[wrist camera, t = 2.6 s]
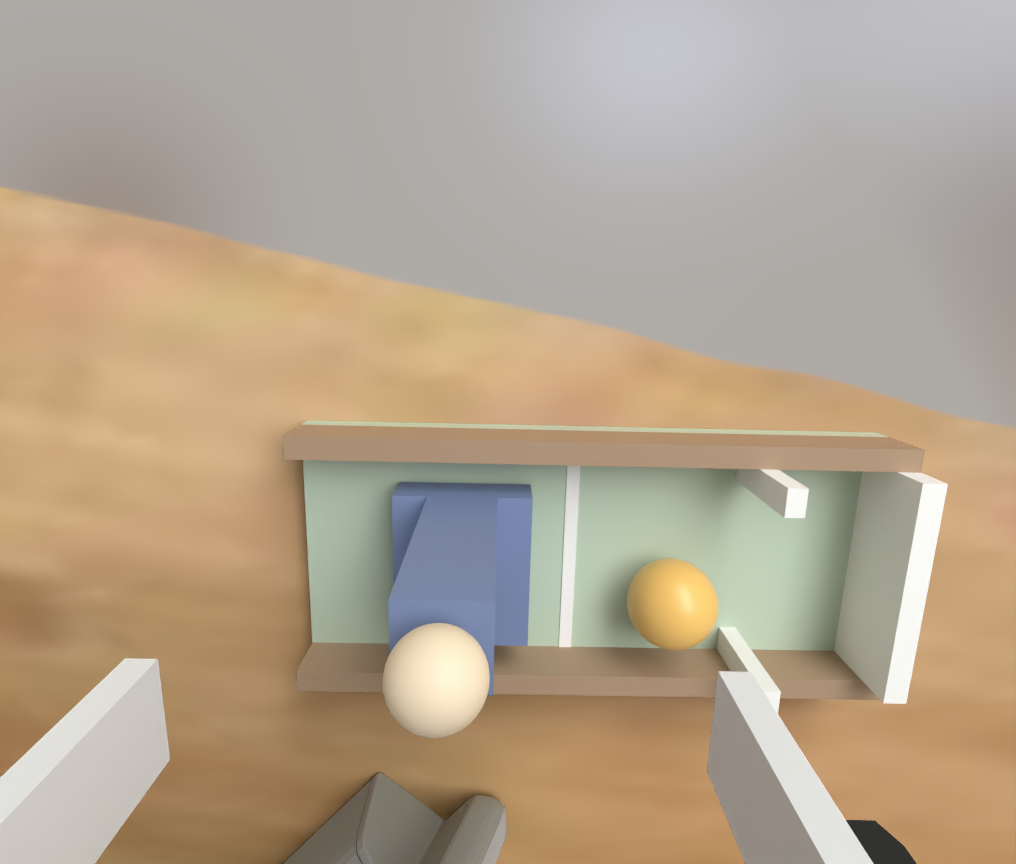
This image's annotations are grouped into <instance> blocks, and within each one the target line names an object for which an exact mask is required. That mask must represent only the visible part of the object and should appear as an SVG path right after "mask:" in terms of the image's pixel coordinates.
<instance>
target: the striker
mask: <svg viewBox="0 0 1016 864" xmlns="http://www.w3.org/2000/svg"><path fill="white" fill-rule="evenodd" d="M532 503H533V498H532V491H531V485H530V484H482V483H432V482H399V484H398V486H397V488H396V489H395V491H394V493H393V495H392V528H393V582H394V586H393V589H392V591H391V594H390V596H389V599H388V607H389V656H388V659H387V661H386V664H385V668H384V673H383V694H384V698H385V702H386V704H387V707H388V709H389V711H390V713H391V714H392V716H393V717H394V719H395V720H396V721H397V722H398V723H399V724H400V725H401V726H402V727H403V728H405V729H406V730H408V731H409V732H411V733H413V734H415V735H418V736H421V737H427V738H441V737H446V736H450V735H452V734H455V733H457V732H459V731H460V730H462V729H464V728H465V727H466V726H468V725H469V724H470V723H471V722H472V721H473V720H474V719H475V718H476V716H477V715H478V714H479V712H480V711H481V709H482V707H483V705H484V703H485V700H486V698H487V695H493V685H494V645H504V646H528V618H529V590H530V561H531V532H532Z"/></svg>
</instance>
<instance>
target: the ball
mask: <svg viewBox="0 0 1016 864" xmlns="http://www.w3.org/2000/svg"><path fill="white" fill-rule="evenodd" d="M627 608H628V613H629V616H630V619H631V621H632V623H633V625H634V627H635V628H636V630H637V631H638V632H639V633H640V635H641V636H642V637H643V638H644V639H646V640H647V641H648V642H650V643H652V644H653V645H655V646H657V647H660V648H663V649H667V650H685V649H689V648H692V647H694V646H696V645H698V644H700V643H701V642H702V641H704V640H705V639H706V638H707V637H708V635H709V634H710V633H711V631H712V630H713V628H714V626H715V624H716V621H717V617H718V599H717V595H716V591H715V589H714V587H713V585H712V583H711V582H710V580H709V579H708V577H707V576H706V575H705V574H704V573H703V572H702V571H701V570H700V569H698V568H697V567H695V566H694V565H692V564H690V563H688V562H686V561H683V560H679V559H660V560H657V561H654V562H651V563H649V564H647V565H646V566H644V567H643V568H642V569H641V570H640V571H639V572H638V573H637V574H636V575H635V576H634V578H633V580H632V581H631V584H630V586H629V590H628V594H627Z"/></svg>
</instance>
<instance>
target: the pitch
mask: <svg viewBox="0 0 1016 864" xmlns="http://www.w3.org/2000/svg"><path fill="white" fill-rule="evenodd" d="M282 439H283V456H284V460H303V471H304V491H305V510H306V530H307V549H308V569H309V588H310V608H311V627H312V644H311V646H310V647H309V649H308V651H307V653H306V655H305V657H304V658H303V660H302V662H301V664H300V666H299V667H298V669H297V671H296V679H297V691H318V692H383V673H384V668H385V664H386V661H387V659H388V656H389V607H388V599H389V596H390V594H391V591H392V589H393V586H394V582H393V528H392V495H393V493H394V491H395V489H396V488H397V486H398V484H399V482H432V483H482V484H530V485H531V491H532V498H533V503H532V532H531V561H530V590H529V618H528V646H504V645H494V685H493V694H519V695H586V696H653V697H715V696H716V687H717V678H718V671H731V672H751V673H752V674H753V676H754V678H755V679H756V681H757V682H758V684H759V685H760V687H761V689H762V690H763V692H764V693H765V695H766V696H767V698H768V699H769V701H770V703H771V704H772V706H773V707H774V709H775V710H776V712H777V714H778V709H779V702H780V698H787V699H854V700H881V701H882V702H883V703H901V704H906V701H907V696H908V691H909V686H910V680H911V675H912V670H913V665H914V659H915V654H916V649H917V644H918V638H919V633H920V628H921V623H922V617H923V612H924V607H925V602H926V596H927V591H928V586H929V580H930V575H931V570H932V565H933V559H934V554H935V549H936V544H937V538H938V533H939V528H940V523H941V517H942V512H943V507H944V502H945V496H946V491H947V486H948V484H947V483H944V482H942V481H939V480H937V479H935V478H932V477H930V476H927V475H925V474H923V473H921V468H922V463H923V457H924V452H925V450H924V449H921V448H918V447H915V446H912V445H910V444H907V443H904V442H901V441H898V440H896V439H893V438H890V437H887V436H884V435H882V434H879V433H876V432H831V431H785V430H739V429H692V428H646V427H600V426H553V425H507V424H460V423H414V422H368V421H321V420H308V421H306V422H304V423H303V424H301V425H300V426H298V427H296V428H295V429H293V430H292V431H290V432H288V433H287V434H285V435H284V436H282ZM660 559H679V560H683V561H686V562H688V563H690V564H692V565H694V566H695V567H697V568H698V569H700V570H701V571H702V572H703V573H704V574H705V575H706V576H707V577H708V579H709V580H710V582H711V583H712V585H713V587H714V589H715V591H716V595H717V599H718V617H717V621H716V624H715V626H714V628H713V630H712V631H711V633H710V634H709V635H708V637H707V638H706V639H705V640H704V641H702V642H701V643H700V644H698V645H696V646H694V647H692V648H689V649H685V650H667V649H663V648H660V647H657V646H655V645H653V644H652V643H650V642H648V641H647V640H646V639H644V638H643V637H642V636H641V635H640V633H639V632H638V631H637V630H636V628H635V627H634V625H633V623H632V621H631V619H630V616H629V613H628V608H627V594H628V590H629V586H630V584H631V581H632V580H633V578H634V576H635V575H636V574H637V573H638V572H639V571H640V570H641V569H642V568H643V567H644V566H646V565H647V564H649V563H651V562H654V561H657V560H660Z"/></svg>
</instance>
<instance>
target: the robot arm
mask: <svg viewBox="0 0 1016 864" xmlns="http://www.w3.org/2000/svg"><path fill="white" fill-rule="evenodd" d="M169 760H170V755H169V747H168V738H167V730H166V722H165V714H164V705H163V697H162V689H161V680H160V672H159V664H158V659H130V658H125V659H124V660H123V661H122V662H121V663H120V664H119V665H118V666H117V667H116V668H115V669H113V670H112V671H111V672H110V673H109V674H108V675H107V676H106V677H105V678H104V679H103V680H102V681H101V682H100V683H99V684H98V685H97V686H96V687H95V688H94V689H93V690H91V691H90V692H89V693H88V694H87V695H86V696H85V697H84V698H83V699H82V700H81V701H80V702H79V703H78V704H77V705H76V706H75V707H74V708H73V709H72V710H71V711H70V712H68V713H67V714H66V715H65V716H64V717H63V718H62V719H61V720H60V721H59V722H58V723H57V724H56V725H55V726H54V727H53V728H52V729H51V730H50V731H49V732H48V733H46V734H45V735H44V736H43V737H42V738H41V739H40V740H39V741H38V742H37V743H36V744H35V745H34V746H33V747H32V748H31V749H30V750H29V751H28V752H27V753H26V754H25V755H23V756H22V757H21V758H20V759H19V760H18V761H17V762H16V763H15V764H14V765H13V766H12V767H11V768H10V769H9V770H8V771H7V772H6V773H5V774H4V775H3V776H1V777H0V864H95V862H96V861H97V860H98V858H99V857H100V856H101V854H102V853H103V851H104V850H105V849H106V847H107V846H108V845H109V843H110V842H111V840H112V839H113V838H114V836H115V835H116V833H117V832H118V831H119V829H120V828H121V827H122V825H123V824H124V822H125V821H126V820H127V818H128V817H129V816H130V814H131V813H132V811H133V810H134V809H135V807H136V806H137V804H138V803H139V802H140V800H141V799H142V798H143V796H144V795H145V793H146V792H147V791H148V789H149V788H150V787H151V785H152V784H153V782H154V781H155V780H156V778H157V777H158V775H159V774H160V773H161V771H162V770H163V769H164V767H165V766H166V764H167V763H168V762H169ZM707 772H708V775H709V777H710V780H711V782H712V784H713V787H714V789H715V792H716V794H717V797H718V799H719V801H720V804H721V806H722V809H723V811H724V813H725V816H726V818H727V821H728V823H729V825H730V828H731V830H732V833H733V835H734V837H735V840H736V842H737V845H738V847H739V850H740V852H741V854H742V857H743V859H744V862H745V864H916V862H915V861H914V859H913V858H912V857H911V855H910V854H909V852H908V851H907V850H906V848H905V847H904V846H903V845H902V844H901V843H900V842H899V841H898V840H896V839H895V838H894V837H893V836H892V835H891V834H890V833H888V832H887V831H886V830H885V829H884V828H883V827H881V826H880V825H879V824H878V823H877V822H876V821H866V820H845V818H844V817H843V815H842V814H841V812H840V811H839V809H838V807H837V806H836V804H835V803H834V801H833V800H832V798H831V796H830V795H829V793H828V792H827V790H826V789H825V787H824V786H823V784H822V782H821V781H820V779H819V778H818V776H817V775H816V773H815V771H814V770H813V768H812V767H811V765H810V764H809V762H808V761H807V759H806V757H805V756H804V754H803V753H802V751H801V750H800V748H799V746H798V745H797V743H796V742H795V740H794V739H793V737H792V735H791V734H790V732H789V731H788V729H787V728H786V726H785V725H784V723H783V721H782V720H781V718H780V717H779V715H778V714H777V712H776V710H775V709H774V707H773V706H772V704H771V703H770V701H769V699H768V698H767V696H766V695H765V693H764V692H763V690H762V689H761V687H760V685H759V684H758V682H757V681H756V679H755V678H754V676H753V674H752V673H751V672H731V671H718V678H717V687H716V696H715V704H714V713H713V721H712V730H711V739H710V747H709V756H708V764H707Z"/></svg>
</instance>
